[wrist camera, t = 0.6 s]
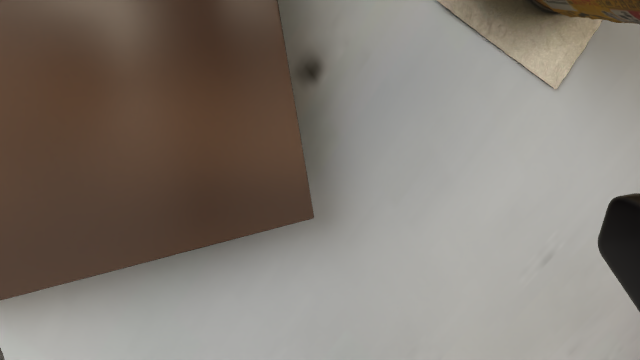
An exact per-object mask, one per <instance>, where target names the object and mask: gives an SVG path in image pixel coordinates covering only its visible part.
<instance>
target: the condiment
mask: <svg viewBox="0 0 640 360" xmlns="http://www.w3.org/2000/svg"><path fill="white" fill-rule="evenodd" d="M437 1H438V2H440V3H441V4H442V5H444V6H445V7H446V8H448V9H449V10H451V12H452V13H453V14H455V15H456V16H457V17H459V18H460V19H461V20H463V21H464V22H465V23H467V24H468V25H469V26H471V27H472V28H474V29H475V30H476V31H478V32H479V33H480V34H481V35H482V36H484V37H485V38H487V39H488V40H489V41H490V42H492V43H493V44H495V45H496V46H497V47H499V48H500V49H501V50H503V51H504V52H505V53H506V54H507V55H508V56H510V57H512V58H513V59H515V60H516V61H518V62H519V63H521V64H522V65H523V66H525V67H526V68H527V69H528V70H530V71H531V72H532V73H534V74H535V75H537V76H538V77H539V78H541V79H542V80H544V81H545V82H546V83H548V84H549V85H550V86H552V87H553V88H554V89H557V88H558V86H559V85H560V83H561V82H562V80H563V79H564V78H565V77H566V75H567V74H568V72H569V71H570V69H571V67H572V65H573V63H574V62H575V60H576V59H577V58H578V56H579V55H580V54H581V53H582V52H583V50H584V49H585V47H586V45H587V43H588V41H589V40H590V38H591V37H592V35H593V34H594V33H595V31H596V30H597V29H598V27H599V26H600V23H601V22H602V20H603V19H604V20H609V21H611V22H616V23H636V24H640V0H437Z"/></svg>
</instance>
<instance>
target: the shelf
mask: <svg viewBox="0 0 640 360" xmlns="http://www.w3.org/2000/svg"><path fill="white" fill-rule="evenodd" d="M312 218H314V213H313V207H312V201H311V195H310V190H309V184H308V178H307V172H306V166H305V160H304V154H303V148H302V142H301V137H300V131H299V125H298V119H297V113H296V107H295V101H294V95H293V89H292V83H291V78H290V72H289V66H288V60H287V54H286V48H285V42H284V36H283V30H282V25H281V19H280V13H279V7H278V1H277V0H0V300H4V299H8V298H12V297H15V296H19V295H23V294H27V293H31V292H34V291H38V290H42V289H46V288H50V287H53V286H57V285H61V284H65V283H69V282H73V281H76V280H80V279H84V278H88V277H92V276H95V275H99V274H103V273H107V272H111V271H114V270H118V269H122V268H126V267H130V266H133V265H137V264H141V263H145V262H149V261H152V260H156V259H160V258H164V257H168V256H172V255H175V254H179V253H183V252H187V251H191V250H194V249H198V248H202V247H206V246H210V245H213V244H217V243H221V242H225V241H229V240H232V239H236V238H240V237H244V236H248V235H251V234H255V233H259V232H263V231H267V230H271V229H274V228H278V227H282V226H286V225H290V224H293V223H297V222H301V221H305V220H309V219H312Z"/></svg>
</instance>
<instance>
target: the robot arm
mask: <svg viewBox="0 0 640 360" xmlns="http://www.w3.org/2000/svg"><path fill="white" fill-rule="evenodd" d="M598 248H599V251H600V253H601V255H602V257H603V258H604V260H605V261H606V263H607V264H608V266H609V267H610V269H611V270H612V272H613V273H614V275H615V276H616V278H617V279H618V281H619V282H620V283H621V285H622V286H623V288H624V289H625V291H626V292H627V294H628V295H629V297H630V298H631V300H632V301H633V303H634V304H635V306H636V307H637V309H638V310H639V312H640V194H629V195H624V196H618V197H616V198H614V199H612V201H611V202H610V203H609V205H608V208H607V211H606V214H605V218H604V221H603V224H602V227H601V230H600V234H599V237H598ZM0 360H4V356H3V353H2V351H1V348H0Z"/></svg>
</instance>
